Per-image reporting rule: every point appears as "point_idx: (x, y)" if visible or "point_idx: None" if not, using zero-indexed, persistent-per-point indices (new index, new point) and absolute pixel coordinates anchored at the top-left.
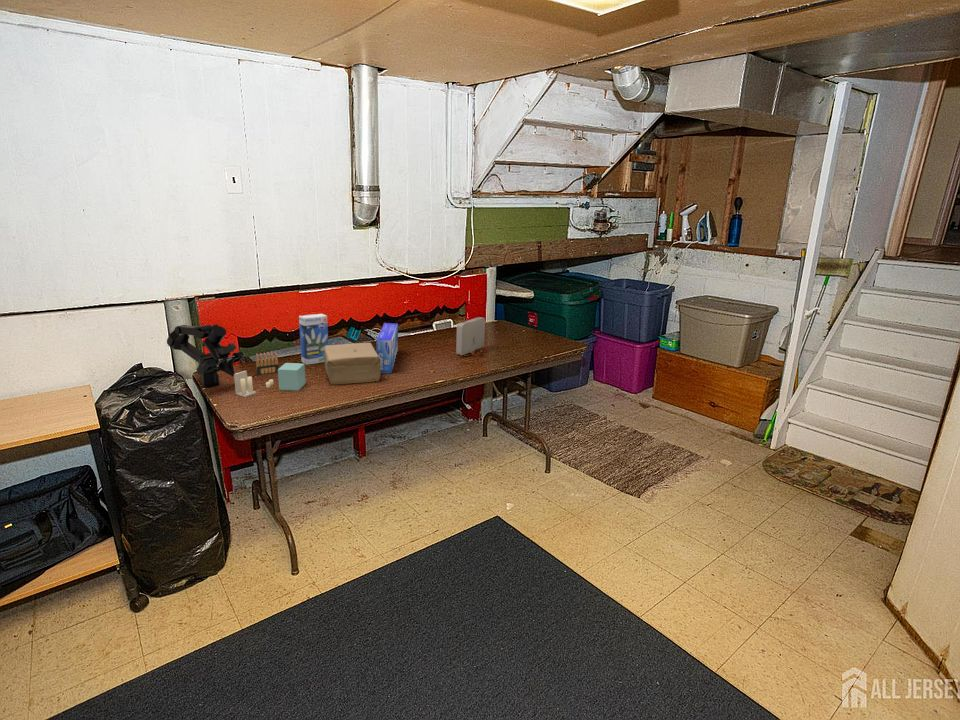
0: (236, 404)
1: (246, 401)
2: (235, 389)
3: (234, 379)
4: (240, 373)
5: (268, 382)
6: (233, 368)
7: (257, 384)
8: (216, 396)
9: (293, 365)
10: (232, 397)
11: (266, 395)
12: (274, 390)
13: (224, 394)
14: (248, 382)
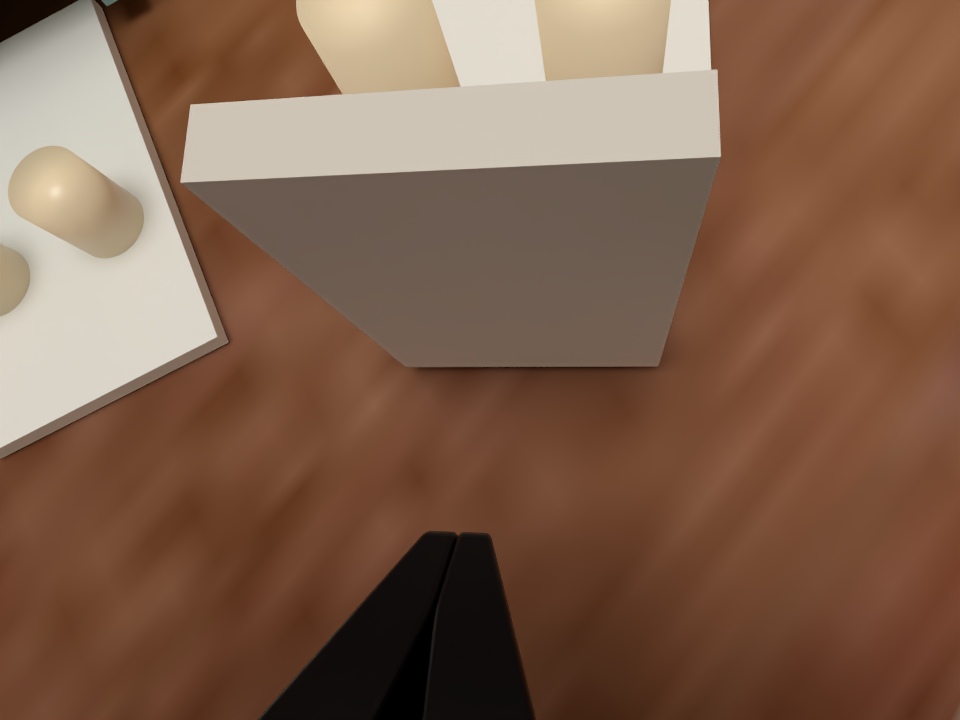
0: (911, 49)
1: (715, 41)
2: (666, 335)
3: (692, 246)
4: (474, 97)
5: (42, 173)
6: (269, 709)
7: (39, 549)
8: (903, 696)
9: None
10: (736, 377)
11: None
12: (146, 103)
13: (724, 646)
14: (452, 65)
